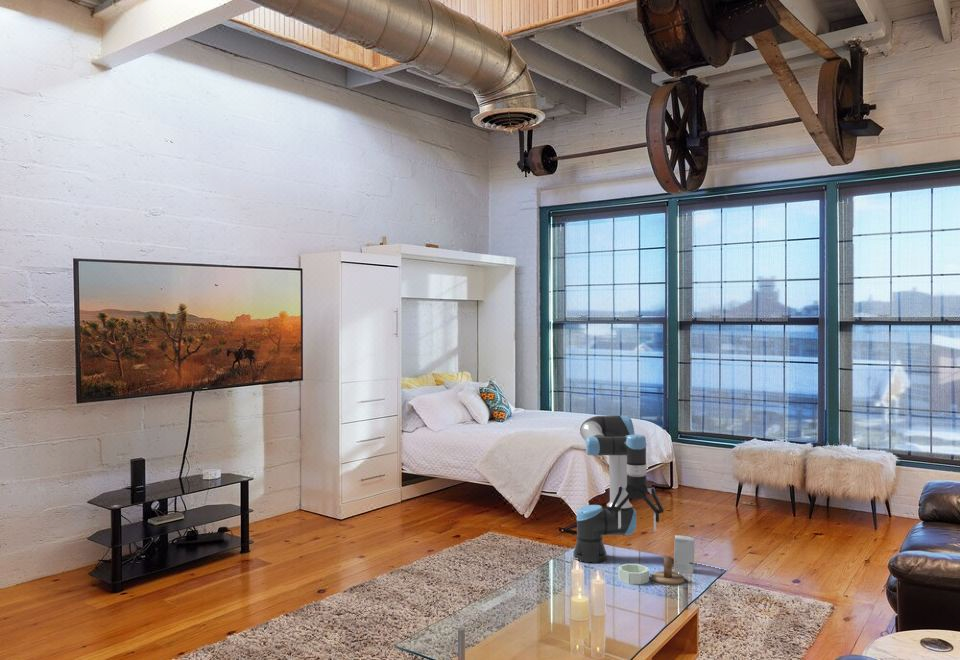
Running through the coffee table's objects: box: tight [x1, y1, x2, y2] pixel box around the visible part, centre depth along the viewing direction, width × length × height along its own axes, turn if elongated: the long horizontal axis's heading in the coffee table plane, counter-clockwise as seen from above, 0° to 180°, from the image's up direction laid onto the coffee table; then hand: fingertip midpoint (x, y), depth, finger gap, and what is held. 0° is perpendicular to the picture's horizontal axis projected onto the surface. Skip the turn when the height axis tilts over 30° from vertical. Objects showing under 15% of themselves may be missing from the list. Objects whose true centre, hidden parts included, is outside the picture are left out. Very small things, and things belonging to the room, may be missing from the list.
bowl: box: [617, 563, 650, 585], centre depth 298 cm, size 12×12×5 cm
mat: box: [649, 573, 688, 587], centre depth 297 cm, size 13×13×1 cm
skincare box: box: [673, 534, 695, 574], centre depth 308 cm, size 8×6×15 cm
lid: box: [651, 555, 685, 586], centre depth 297 cm, size 13×13×9 cm
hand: (637, 529), depth 281 cm, fingers open, 13 cm apart
